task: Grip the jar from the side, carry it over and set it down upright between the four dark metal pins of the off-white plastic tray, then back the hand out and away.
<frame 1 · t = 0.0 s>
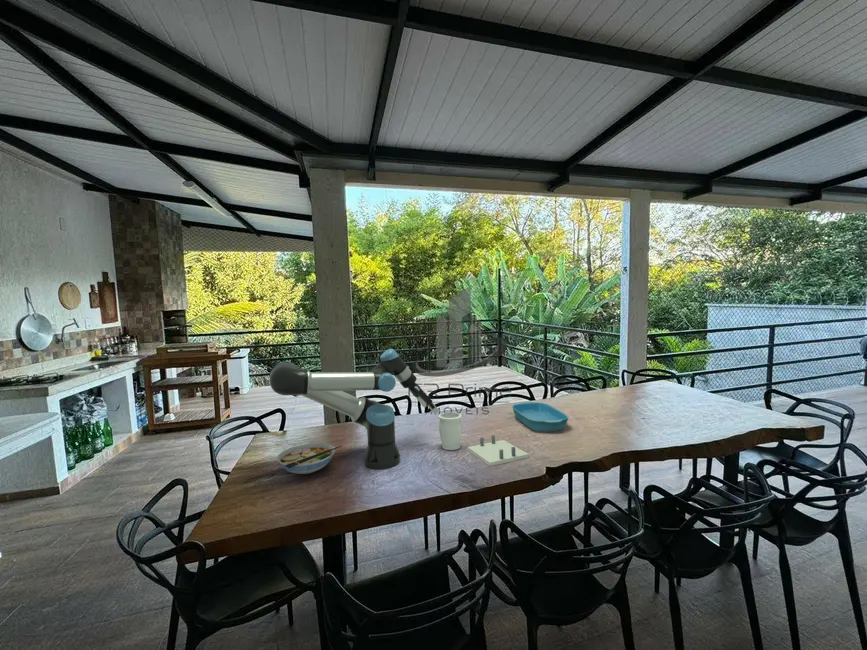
hand: (431, 409, 187), 15 cm above the table, tool tilted 35°, fingers open, 13 cm apart
jar: (451, 447, 178), on the table
casserole dish: (538, 423, 208), on the table
ramen bowl: (307, 471, 158), on the table
tray: (497, 453, 168), on the table
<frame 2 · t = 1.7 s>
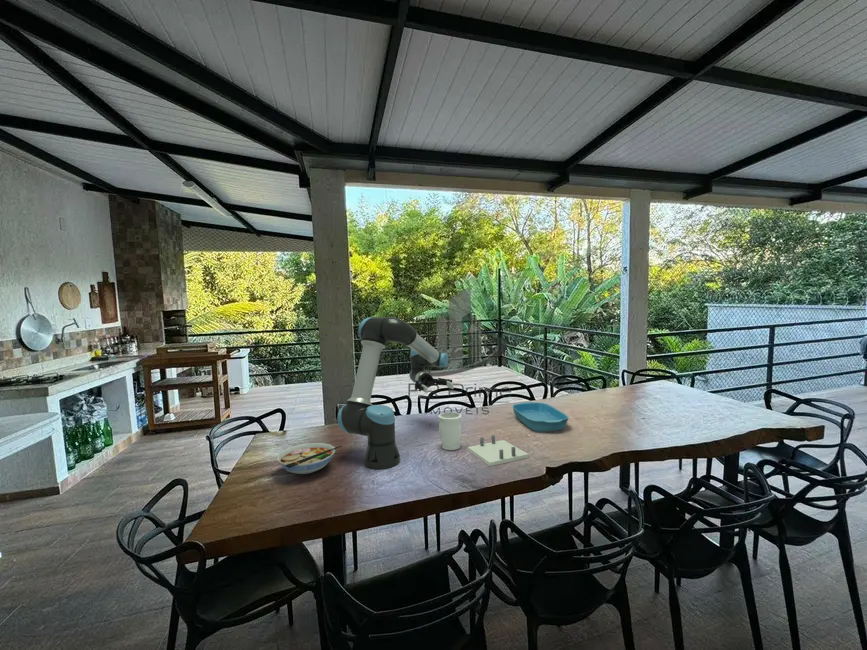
hand: (440, 388, 185), 26 cm above the table, tool horizontal, fingers open, 13 cm apart
nothing on the table moved.
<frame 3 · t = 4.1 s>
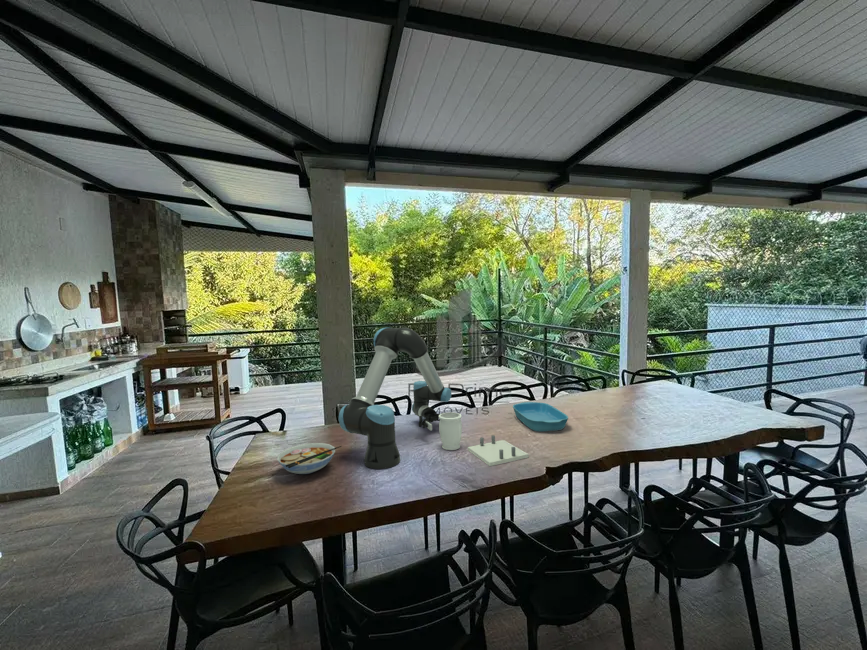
hand: (444, 425, 185), 8 cm above the table, tool horizontal, fingers open, 13 cm apart
nothing on the table moved.
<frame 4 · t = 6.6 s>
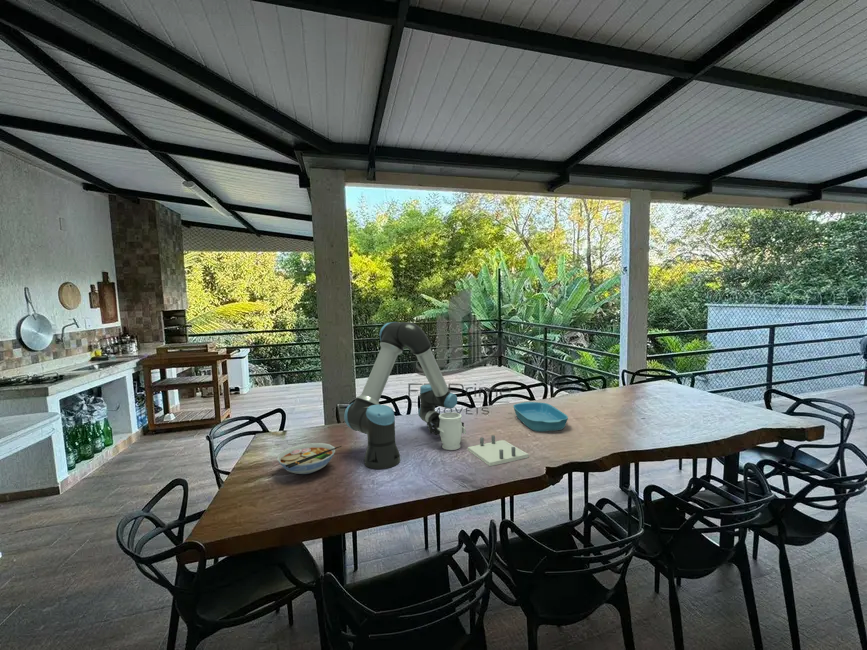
hand: (454, 433, 173), 8 cm above the table, tool horizontal, fingers closed on jar, 10 cm apart
jar: (451, 447, 178), on the table, touching gripper
everything else where it was.
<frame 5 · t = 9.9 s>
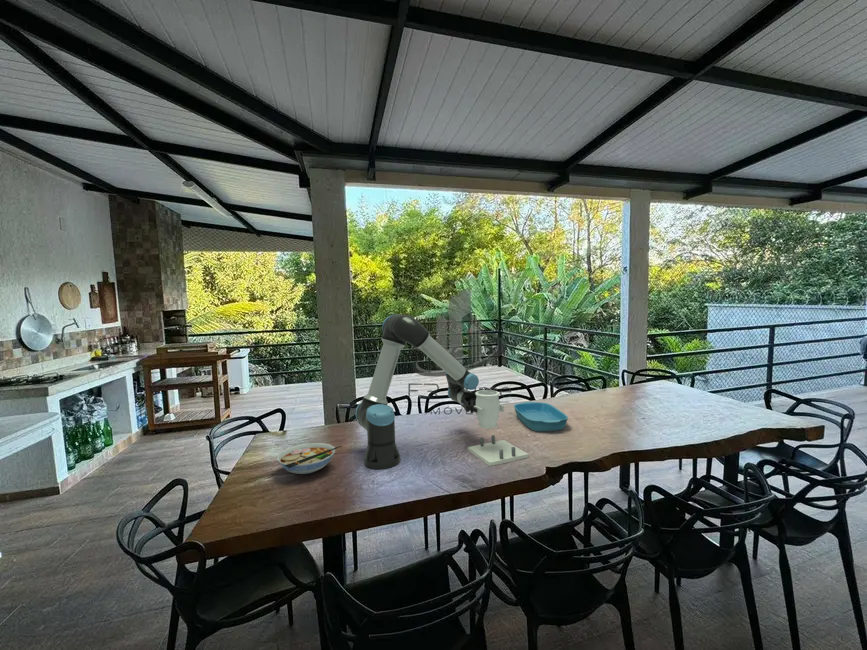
hand: (492, 410, 167), 19 cm above the table, tool horizontal, fingers closed on jar, 10 cm apart
jar: (488, 426, 171), point 11 cm above the table, touching gripper
everything else where it was.
when the fingers open (10 cm above the table, at t = 13.2 s): jar stays where it is, resting on tray.
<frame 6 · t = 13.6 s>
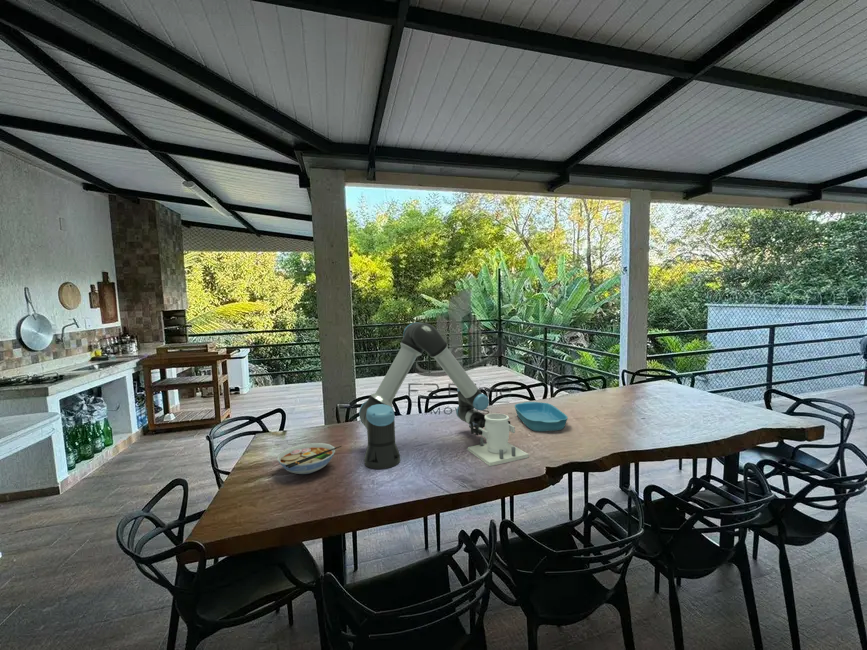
hand: (500, 432, 165), 11 cm above the table, tool horizontal, fingers open, 13 cm apart
jar: (497, 450, 168), point 1 cm above the table, touching tray
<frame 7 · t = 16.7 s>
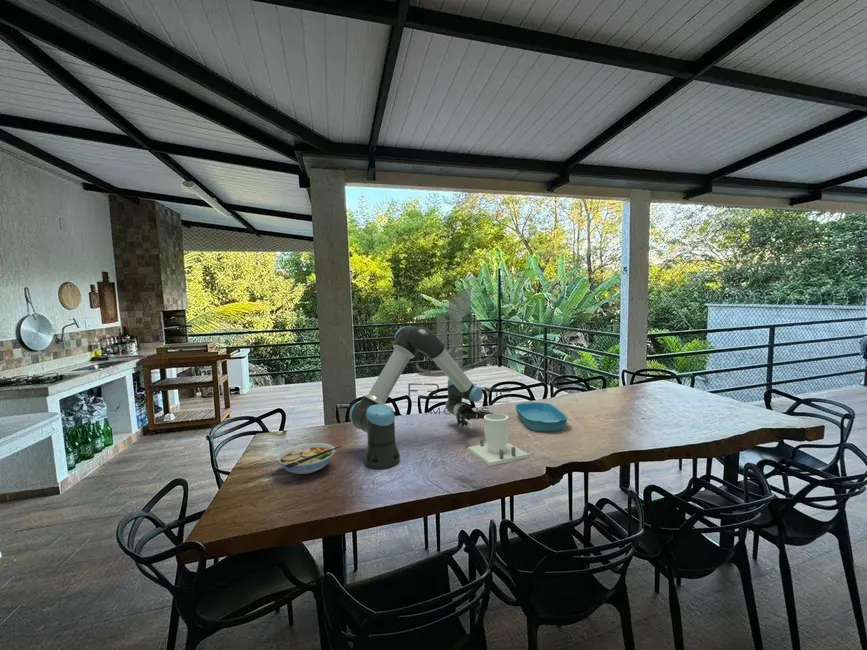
hand: (484, 423, 177), 11 cm above the table, tool horizontal, fingers open, 13 cm apart
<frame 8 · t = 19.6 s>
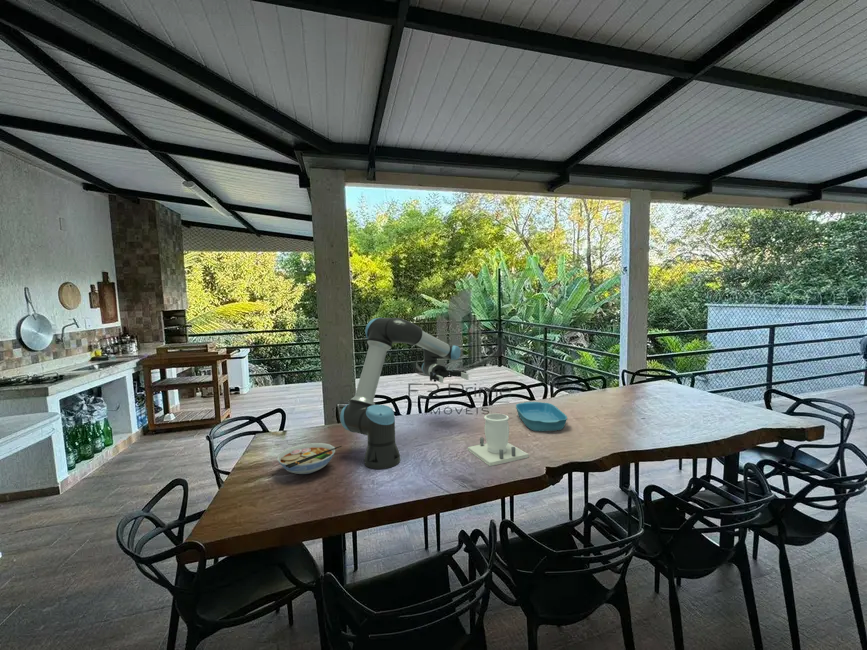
hand: (455, 378, 186), 30 cm above the table, tool horizontal, fingers open, 13 cm apart
at the end: jar 0.1 cm off-centre on the tray, point 1.3 cm above the tray's base; jar tilted 0°; the gripper is holding nothing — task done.
